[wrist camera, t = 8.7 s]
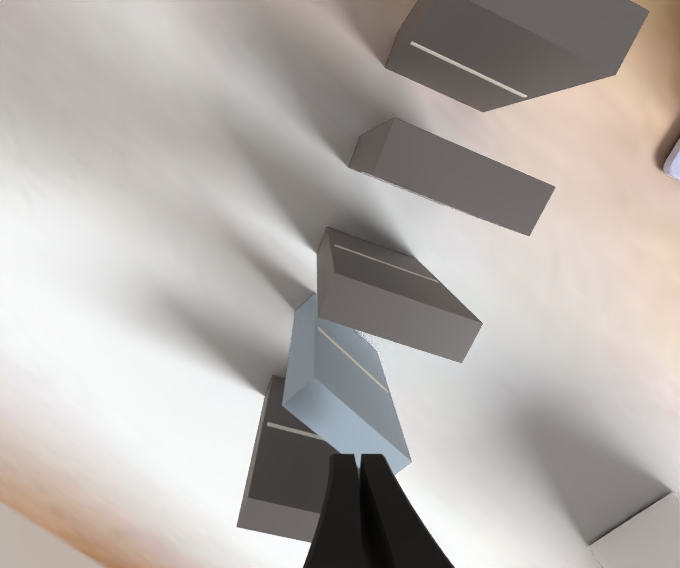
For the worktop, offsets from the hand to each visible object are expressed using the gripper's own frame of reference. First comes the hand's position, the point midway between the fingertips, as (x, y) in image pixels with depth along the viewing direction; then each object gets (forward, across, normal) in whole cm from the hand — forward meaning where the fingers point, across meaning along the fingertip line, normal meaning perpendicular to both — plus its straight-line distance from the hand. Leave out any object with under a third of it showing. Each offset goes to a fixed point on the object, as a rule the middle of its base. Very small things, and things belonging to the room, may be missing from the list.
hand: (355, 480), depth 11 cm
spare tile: (+10, 0, 0) cm, 10 cm away
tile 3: (+10, -1, -4) cm, 11 cm away
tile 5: (+10, +1, +4) cm, 11 cm away
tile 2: (+10, -3, -9) cm, 13 cm away
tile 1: (+10, -4, -13) cm, 17 cm away
